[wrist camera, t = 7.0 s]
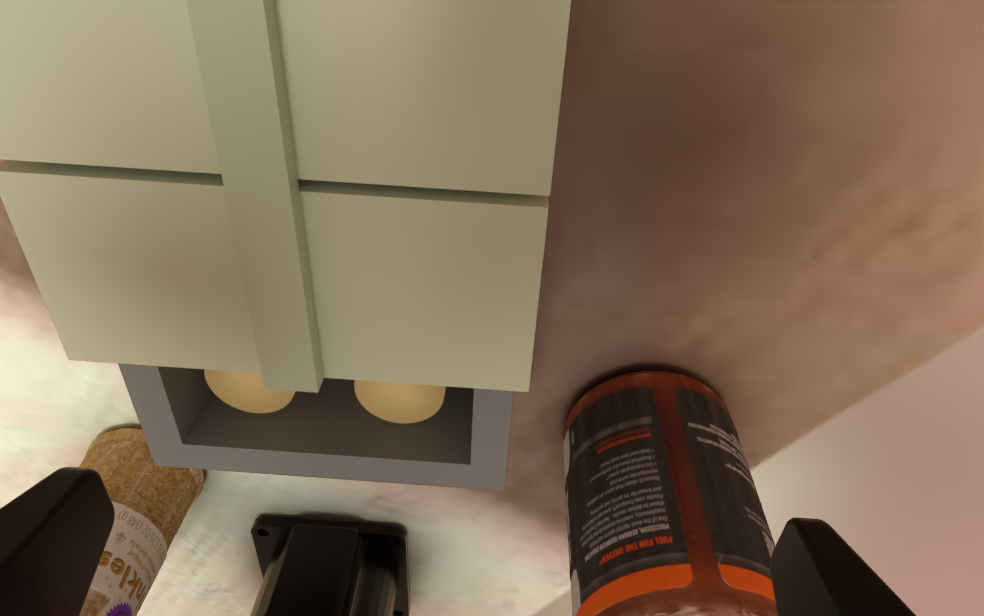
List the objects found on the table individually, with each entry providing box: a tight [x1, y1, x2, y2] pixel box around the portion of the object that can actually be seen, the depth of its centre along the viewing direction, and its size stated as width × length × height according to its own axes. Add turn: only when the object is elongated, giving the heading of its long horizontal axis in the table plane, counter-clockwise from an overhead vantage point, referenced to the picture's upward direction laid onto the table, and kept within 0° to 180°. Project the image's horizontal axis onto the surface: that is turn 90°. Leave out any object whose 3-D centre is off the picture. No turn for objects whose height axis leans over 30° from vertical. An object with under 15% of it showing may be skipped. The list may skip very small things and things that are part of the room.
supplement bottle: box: [563, 371, 778, 616], centre depth 20 cm, size 6×6×11 cm
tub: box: [118, 363, 514, 491], centre depth 17 cm, size 14×10×5 cm
